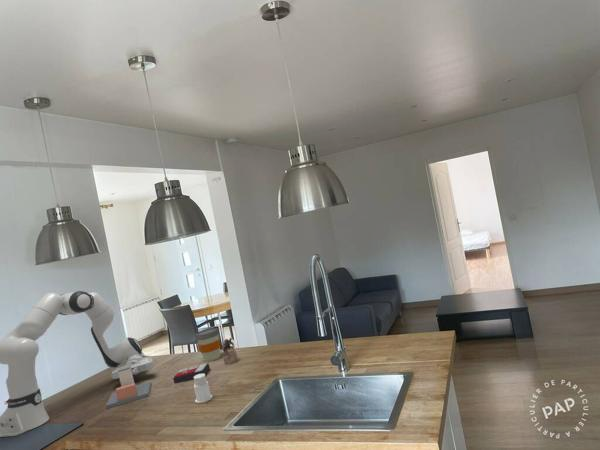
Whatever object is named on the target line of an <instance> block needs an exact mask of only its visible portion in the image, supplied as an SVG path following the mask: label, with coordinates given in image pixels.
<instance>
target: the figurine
mask: <svg viewBox="0 0 600 450" xmlns="http://www.w3.org/2000/svg"><path fill="white" fill-rule="evenodd" d="M232 340H233V338H231V337H230V338H229V339H228V338H226V339H224V340H223V342H222V345H221V349H222V351H223V362H224V365H225V366H226V365H228V366H229V365H232V364H235V363H236V362H238V361H239V357H238V354H237V352H236V349H235V348H234V345H235V344H234V343H233V342H232Z"/></svg>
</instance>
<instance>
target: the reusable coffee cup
mask: <svg viewBox="0 0 600 450" xmlns="http://www.w3.org/2000/svg"><path fill="white" fill-rule="evenodd" d="M195 340H196V341H197V346H198V348H199V352H200V354H201V355H202V358H203V361H204V362H212V361H216V360H218V359H220V358H221V357H222V355H221V348H222V345H221V338H220V332H219V329H218V328H217V327H211V328H206V329H203V330H200V331H198V332H196V333H195Z"/></svg>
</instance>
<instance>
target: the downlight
mask: <svg viewBox="0 0 600 450" xmlns="http://www.w3.org/2000/svg"><path fill="white" fill-rule="evenodd" d="M193 382H194V385H193V389H194V390H193V391H194V393H195V400H194V402H195V403H197V404H202V403H206V402H208V401H210V400H211V399H213V395H212V394H211V389H210V386H209V381H207V377H206V376H205V374H198V375H196V376H194V379H193Z"/></svg>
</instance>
